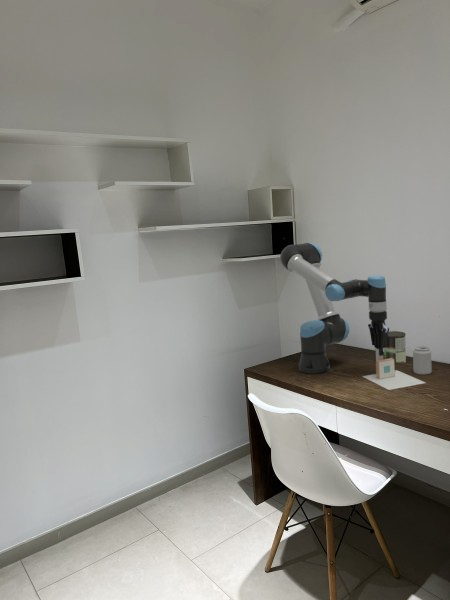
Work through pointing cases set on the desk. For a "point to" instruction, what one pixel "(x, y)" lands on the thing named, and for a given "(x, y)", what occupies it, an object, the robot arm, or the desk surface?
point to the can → (422, 360)
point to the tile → (385, 368)
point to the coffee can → (395, 347)
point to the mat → (395, 380)
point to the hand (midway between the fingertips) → (379, 361)
